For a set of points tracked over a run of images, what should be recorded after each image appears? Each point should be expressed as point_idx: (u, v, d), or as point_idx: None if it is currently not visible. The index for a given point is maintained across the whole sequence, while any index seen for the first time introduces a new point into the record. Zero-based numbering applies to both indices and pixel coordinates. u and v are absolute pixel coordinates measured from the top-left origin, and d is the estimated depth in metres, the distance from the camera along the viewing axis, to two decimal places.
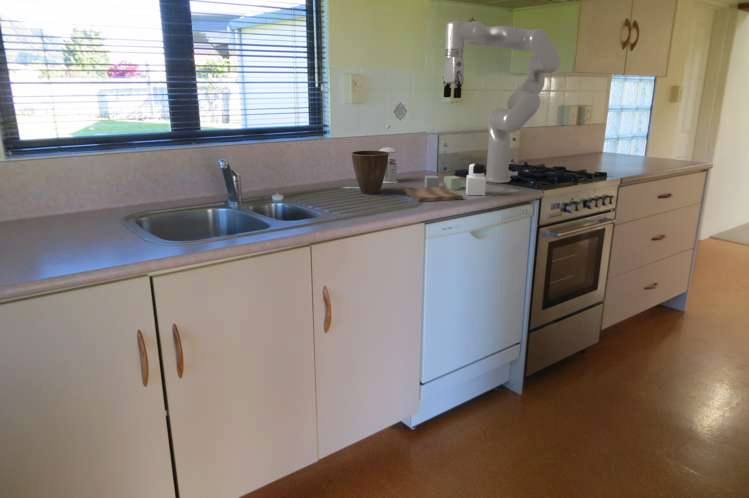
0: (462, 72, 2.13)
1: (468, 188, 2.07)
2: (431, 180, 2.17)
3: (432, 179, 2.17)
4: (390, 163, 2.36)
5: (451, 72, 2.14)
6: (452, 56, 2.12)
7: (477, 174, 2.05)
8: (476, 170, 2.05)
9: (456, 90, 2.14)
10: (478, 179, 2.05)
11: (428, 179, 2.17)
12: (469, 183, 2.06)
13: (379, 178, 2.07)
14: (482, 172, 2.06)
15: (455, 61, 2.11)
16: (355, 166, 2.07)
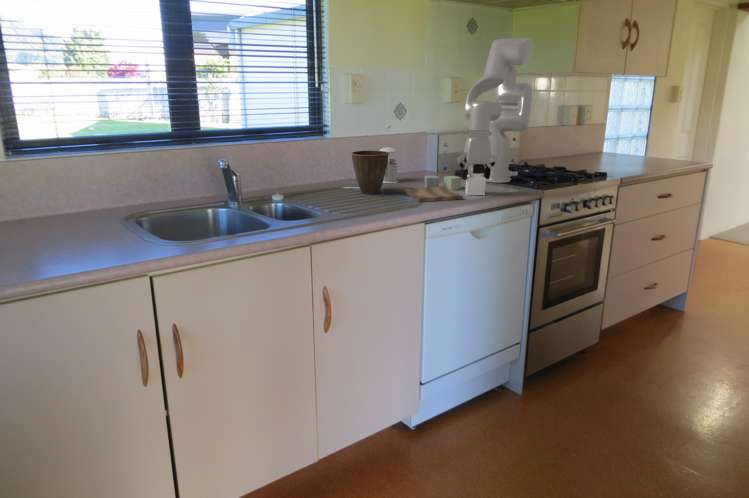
0: None
1: (468, 188, 2.07)
2: (431, 180, 2.17)
3: (432, 179, 2.17)
4: (390, 163, 2.36)
5: (487, 154, 2.04)
6: None
7: (476, 174, 2.05)
8: (476, 170, 2.05)
9: None
10: (478, 179, 2.05)
11: (428, 179, 2.17)
12: (469, 183, 2.06)
13: (379, 178, 2.07)
14: (482, 172, 2.05)
15: (490, 142, 2.04)
16: (355, 166, 2.07)
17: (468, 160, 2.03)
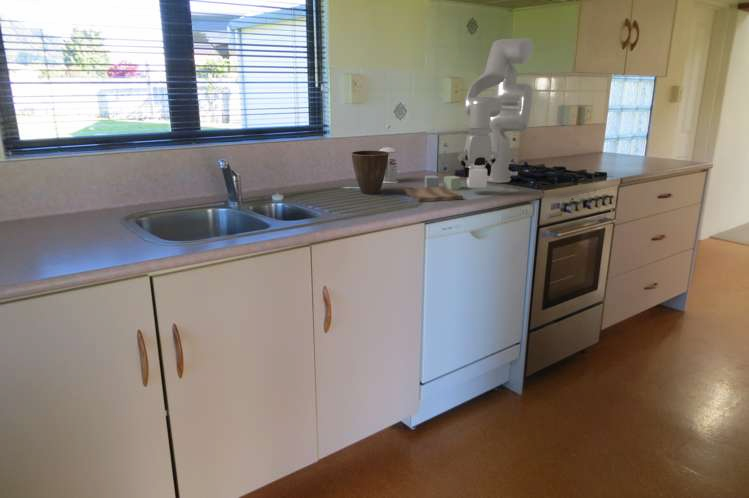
0: None
1: (469, 180, 2.07)
2: (431, 180, 2.17)
3: (432, 179, 2.17)
4: (390, 163, 2.36)
5: (488, 150, 2.04)
6: (488, 134, 2.02)
7: (478, 166, 2.05)
8: (477, 162, 2.04)
9: None
10: (479, 171, 2.05)
11: (428, 179, 2.17)
12: (470, 175, 2.06)
13: (379, 178, 2.07)
14: (483, 164, 2.05)
15: (490, 139, 2.04)
16: (355, 166, 2.07)
17: (469, 158, 2.04)
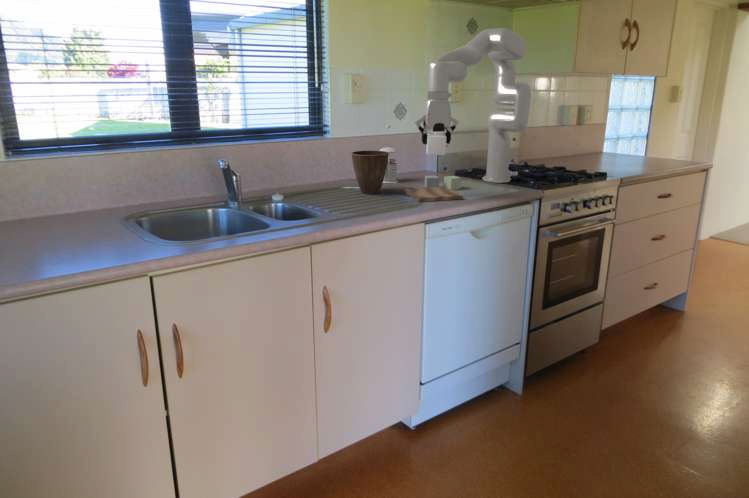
0: None
1: (428, 147, 1.98)
2: (431, 180, 2.17)
3: (432, 179, 2.17)
4: (390, 163, 2.36)
5: (447, 116, 1.96)
6: (447, 99, 1.95)
7: (437, 132, 1.97)
8: (436, 127, 1.96)
9: (450, 135, 2.00)
10: (438, 137, 1.97)
11: (428, 179, 2.17)
12: (429, 142, 1.97)
13: (379, 178, 2.07)
14: (442, 130, 1.97)
15: None
16: (355, 166, 2.07)
17: (427, 123, 1.95)
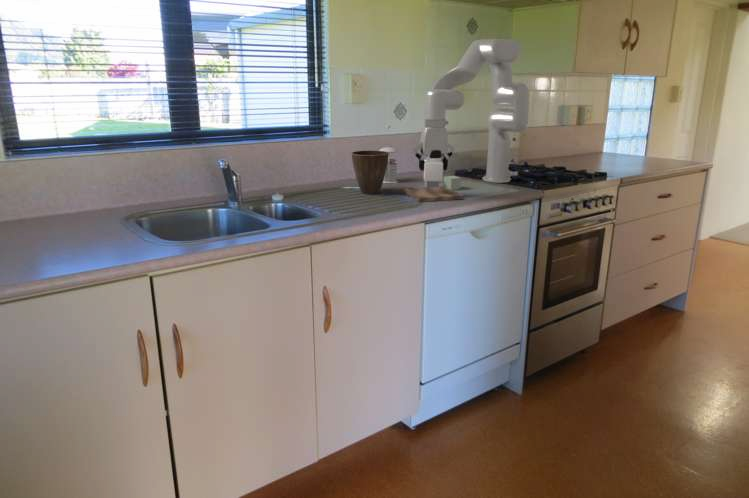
0: None
1: (425, 173, 2.01)
2: None
3: None
4: (390, 163, 2.36)
5: (443, 143, 1.99)
6: (444, 127, 1.98)
7: (433, 159, 2.00)
8: (433, 154, 1.99)
9: (447, 161, 2.03)
10: (435, 164, 2.00)
11: None
12: (426, 168, 2.00)
13: (379, 178, 2.07)
14: (439, 157, 2.00)
15: (446, 132, 1.99)
16: (355, 166, 2.07)
17: (424, 150, 1.98)
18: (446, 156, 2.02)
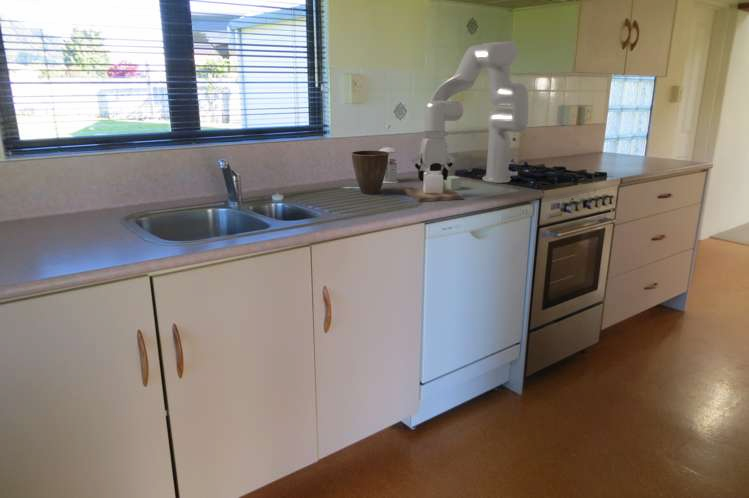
0: None
1: (425, 186, 2.03)
2: None
3: None
4: (390, 163, 2.36)
5: (443, 154, 2.01)
6: None
7: (433, 171, 2.01)
8: (433, 167, 2.01)
9: (447, 172, 2.05)
10: (435, 177, 2.01)
11: None
12: (426, 181, 2.02)
13: (379, 178, 2.07)
14: (439, 169, 2.02)
15: None
16: (355, 166, 2.07)
17: (424, 161, 2.00)
18: (446, 166, 2.03)
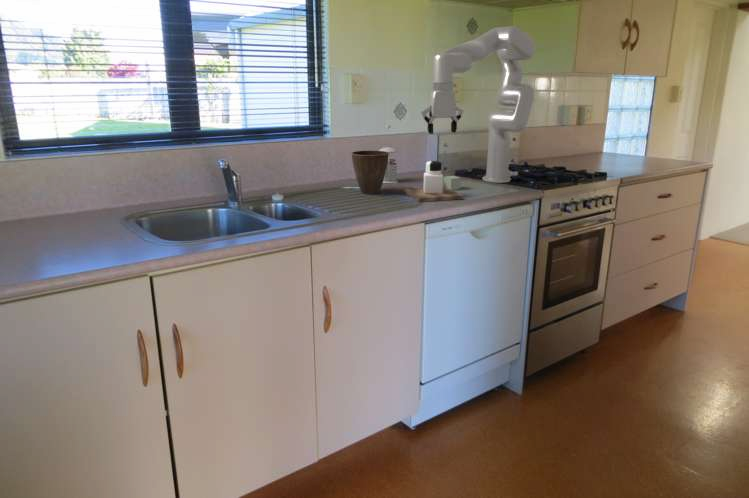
0: None
1: (425, 186, 2.03)
2: None
3: None
4: (390, 163, 2.36)
5: (452, 106, 2.03)
6: (452, 90, 2.01)
7: (433, 171, 2.01)
8: (433, 167, 2.01)
9: (456, 124, 2.07)
10: (435, 177, 2.01)
11: None
12: (426, 181, 2.02)
13: (379, 178, 2.07)
14: (439, 169, 2.02)
15: (454, 95, 2.02)
16: (355, 166, 2.07)
17: (433, 114, 2.02)
18: (455, 119, 2.05)
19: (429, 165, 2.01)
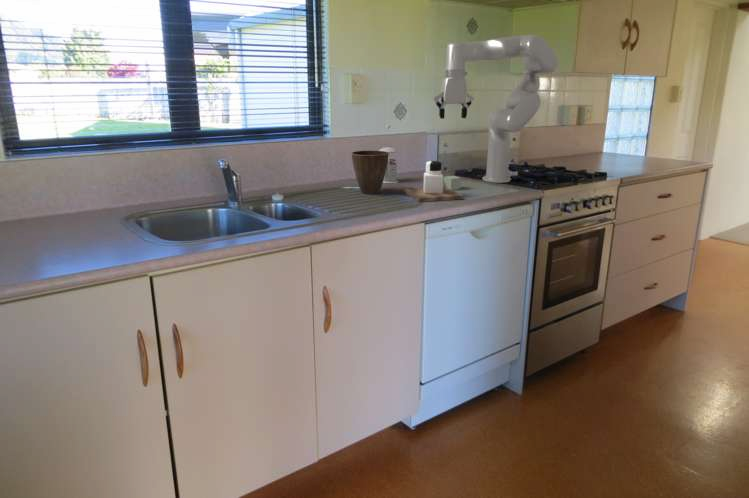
0: None
1: (425, 186, 2.03)
2: None
3: None
4: (390, 163, 2.36)
5: (463, 93, 2.14)
6: (463, 77, 2.12)
7: (433, 171, 2.01)
8: (433, 167, 2.01)
9: (466, 110, 2.18)
10: (435, 177, 2.01)
11: None
12: (426, 181, 2.02)
13: (379, 178, 2.07)
14: (439, 169, 2.02)
15: (465, 82, 2.14)
16: (355, 166, 2.07)
17: (445, 99, 2.13)
18: (465, 105, 2.17)
19: (429, 165, 2.01)
